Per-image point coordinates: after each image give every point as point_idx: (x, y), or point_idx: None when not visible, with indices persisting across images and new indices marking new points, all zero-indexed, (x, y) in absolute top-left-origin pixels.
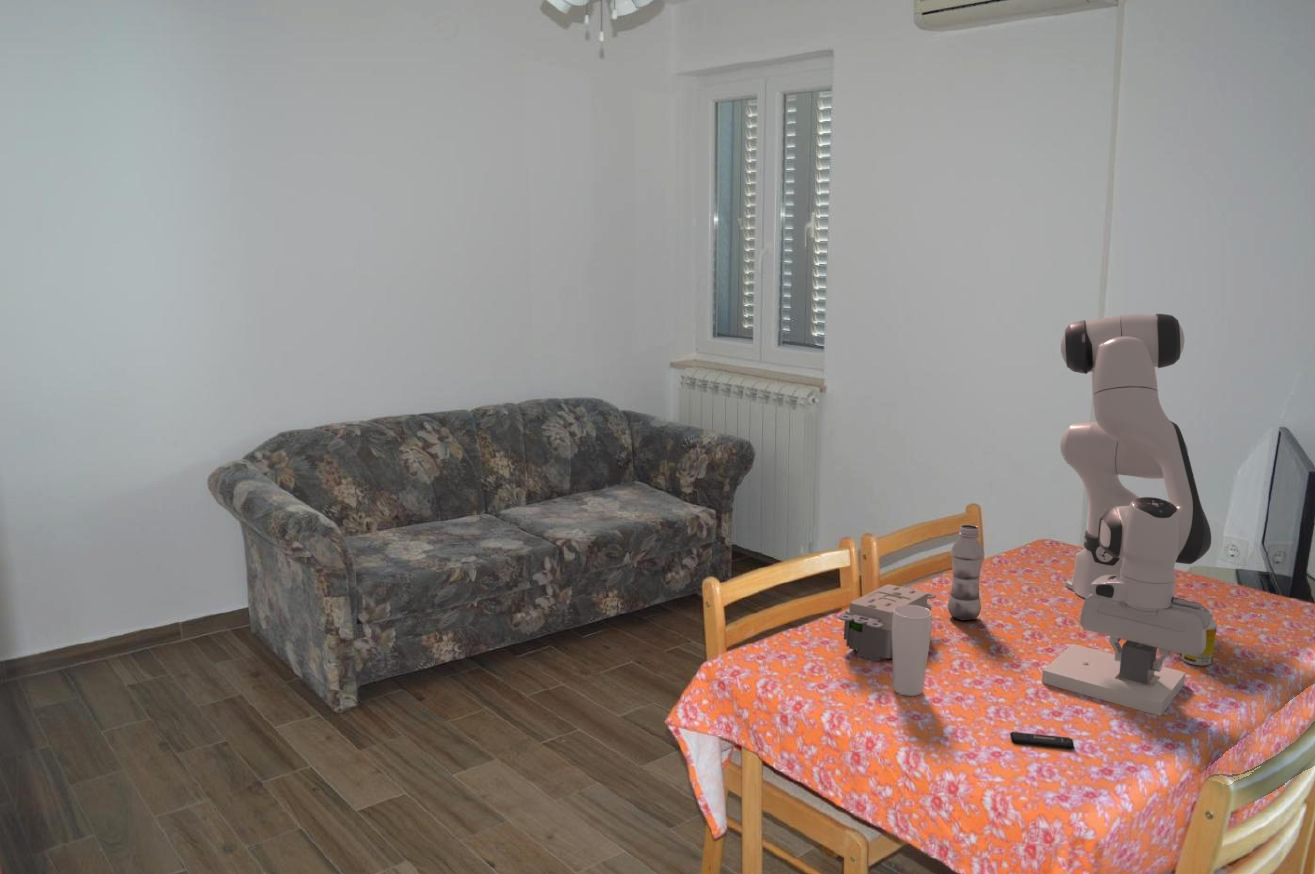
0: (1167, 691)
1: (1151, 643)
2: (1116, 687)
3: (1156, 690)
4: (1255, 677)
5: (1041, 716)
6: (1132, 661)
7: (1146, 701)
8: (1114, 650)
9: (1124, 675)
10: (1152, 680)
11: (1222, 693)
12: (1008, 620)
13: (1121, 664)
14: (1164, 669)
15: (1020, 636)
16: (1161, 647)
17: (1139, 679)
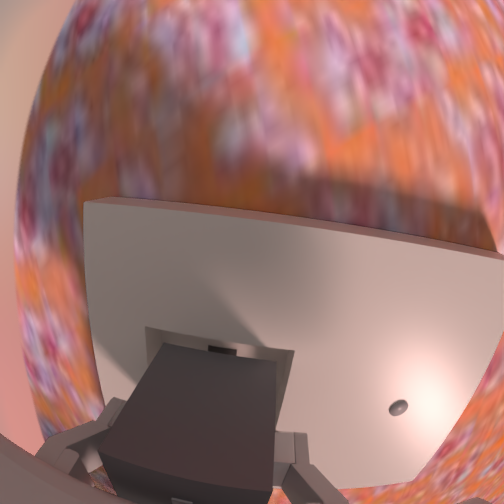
0: (96, 322)
1: (86, 498)
2: (271, 258)
3: (125, 314)
4: None
5: (441, 2)
6: (211, 416)
7: (138, 204)
8: (314, 467)
9: (253, 366)
10: None
11: (66, 412)
12: (477, 484)
13: (269, 402)
14: None
15: (481, 457)
16: (41, 466)
17: (188, 355)
